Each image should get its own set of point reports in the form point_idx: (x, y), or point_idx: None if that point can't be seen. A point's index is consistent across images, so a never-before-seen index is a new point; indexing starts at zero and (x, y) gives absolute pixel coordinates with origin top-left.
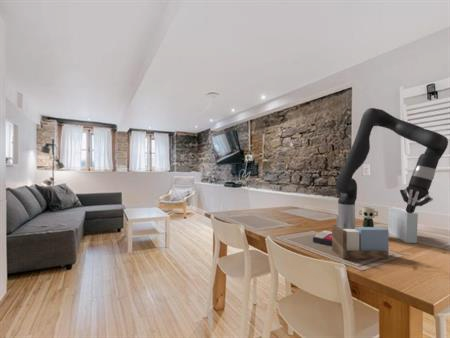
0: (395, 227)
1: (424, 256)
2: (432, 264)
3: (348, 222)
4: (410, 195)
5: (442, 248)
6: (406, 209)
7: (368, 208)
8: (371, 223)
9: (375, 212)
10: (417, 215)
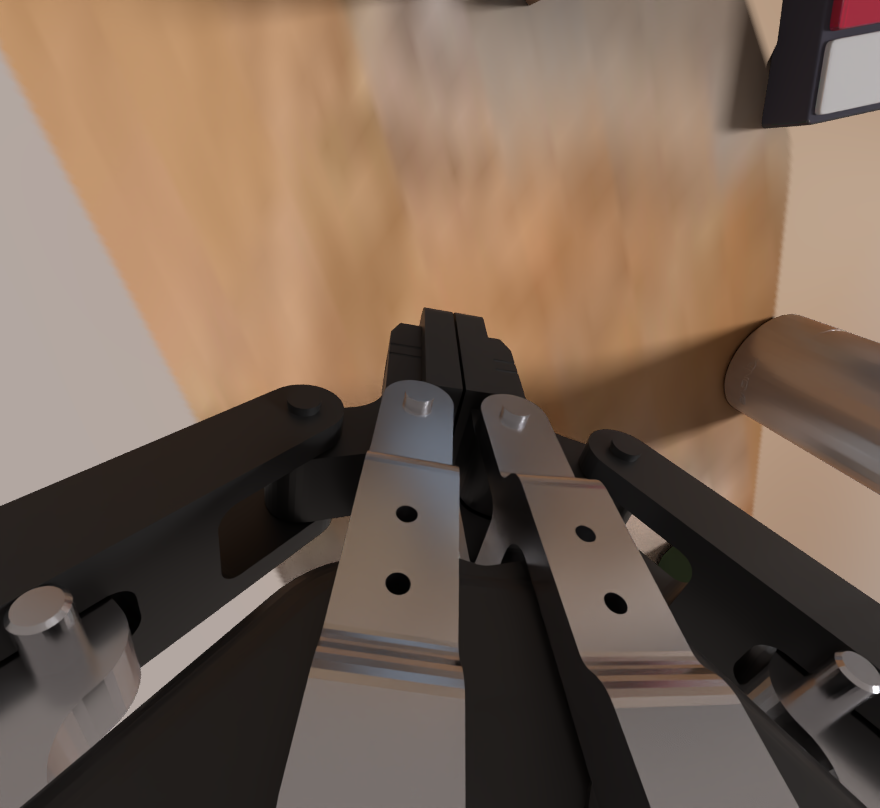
0: None
1: (243, 228)
2: (93, 27)
3: (831, 361)
4: (600, 575)
5: None
6: (499, 351)
7: None
8: (683, 576)
9: None
10: None
